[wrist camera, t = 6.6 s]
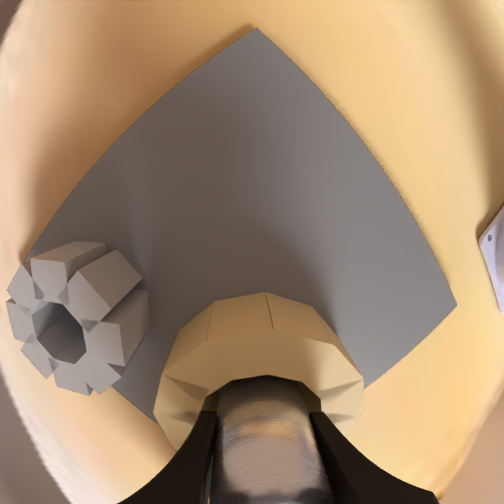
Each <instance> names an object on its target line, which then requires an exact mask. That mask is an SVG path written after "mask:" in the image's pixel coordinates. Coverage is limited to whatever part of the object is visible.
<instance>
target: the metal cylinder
mask: <svg viewBox="0 0 504 504" xmlns="http://www.w3.org/2000/svg"><path fill="white" fill-rule="evenodd" d="M209 504H334V496H333V493H332V489H331V486H330V483H329V479H328V476H327V473H326V470H325V466H324V463H323V460H322V457H321V453H320V450H319V447H318V444H317V440H316V437H315V434H314V431H313V427H312V424H311V421H310V418H309V415H308V411H307V408H306V405H305V402H304V399H303V395H302V392H301V389H300V386H299V383H298V381H296V380H292V379H287V378H282V377H278V376H273V375H269V374H266V375H261V376H255V377H249V378H243V379H236V380H231V381H230V382H228V383H227V384H225V385H224V386H222V387H220V388H219V396H218V406H217V419H216V430H215V440H214V451H213V463H212V475H211V488H210V501H209Z"/></svg>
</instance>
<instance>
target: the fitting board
mask: <svg viewBox="0 0 504 504" xmlns="http://www.w3.org/2000/svg"><path fill="white" fill-rule="evenodd" d="M7 291H8V293H9V294H10V295H11V297H12V298H11V299H10V300H8V301H6V305H7V310H8V315H9V319H10V323H11V328H12V331H13V335H14V339H17V340H20V341H24V342H25V344H24V346H23V347H22V349H21V351H22V353H23V354H24V355H25V356H26V357H27V358H28V360H29V361H30V362H31V363H32V364H33V365H34V366H35V367H36V369H37V370H38V371H39V372H40V373H41V374H42V375H43V376H44V377H45V378H46V379H47V378H48V377H49V376H50V375H51V374H52V373H53V375H54V378H55V381H56V384H57V386H58V387H61V388H64V389H67V390H71V391H74V392H77V393H81V394H85V395H88V396H90V394H91V392H92V391H93V389H94V390H95V391H96V392H97V393H98V394H99V395H100V394H101V393H102V392H103V391H105V390H106V389H107V388H108V387H110V386H112V387H113V388H114V389H115V390H117V391H118V392H119V393H120V394H121V395H122V396H123V397H125V398H126V399H127V400H128V401H129V402H131V403H132V404H133V405H134V406H136V407H137V408H138V409H139V410H140V411H142V412H143V413H144V414H146V415H147V416H148V417H149V418H151V419H152V420H153V421H155V422H156V423H157V424H159V425H160V427H161V429H162V430H163V432H164V434H165V436H166V437H167V439H168V441H169V443H170V444H171V446H172V447H173V448H175V449H176V450H179V449H180V447H181V446H182V445H183V443H184V442H185V440H186V438H187V437H188V435H189V434H190V432H191V430H192V428H193V426H194V425H195V423H196V420H197V418H198V416H199V413H200V411H202V410H209V411H217V406H218V396H219V388H220V387H222V386H224V385H225V384H227V383H228V382H230V381H231V380H236V379H243V378H249V377H255V376H261V375H266V374H269V375H273V376H278V377H282V378H287V379H292V380H296V381H298V383H299V386H300V389H301V392H302V395H303V399H304V402H305V405H306V408H307V411H308V415H309V414H310V412H324V413H325V414H326V415H327V416H328V418H329V419H330V420H331V421H332V423H333V424H334V425H335V426H336V427H337V428H338V430H339V431H340V432H341V433H342V434H343V435H344V436H345V437H347V436H348V435H349V433H350V432H351V431H352V429H353V428H354V427H355V425H356V424H357V423H358V421H359V420H360V418H361V417H362V411H363V390H364V389H365V388H366V387H368V386H369V385H370V384H372V383H373V382H374V381H375V380H377V379H378V378H379V377H381V376H382V375H383V374H384V373H386V372H387V371H388V370H389V369H390V368H392V367H393V366H394V365H395V364H396V363H398V362H399V361H400V360H401V359H402V358H404V357H405V356H406V355H407V354H408V353H409V352H410V351H412V350H413V349H414V348H415V347H416V346H417V345H418V344H419V343H420V342H421V341H422V340H424V339H425V338H426V337H427V336H428V335H429V334H430V333H431V332H432V331H433V330H434V329H435V328H436V327H437V326H438V325H439V324H440V323H441V322H442V321H443V320H444V319H445V318H446V317H447V316H448V315H449V314H450V313H451V312H452V311H453V310H454V309H455V307H456V306H457V303H456V301H455V298H454V296H453V294H452V291H451V289H450V287H449V285H448V283H447V280H446V278H445V276H444V274H443V272H442V270H441V268H440V266H439V264H438V262H437V260H436V258H435V256H434V254H433V252H432V250H431V248H430V246H429V244H428V243H427V241H426V239H425V237H424V235H423V233H422V232H421V230H420V228H419V226H418V225H417V223H416V221H415V219H414V218H413V216H412V214H411V213H410V211H409V209H408V208H407V206H406V204H405V203H404V201H403V199H402V198H401V196H400V195H399V193H398V192H397V190H396V188H395V187H394V185H393V184H392V182H391V181H390V179H389V178H388V176H387V175H386V173H385V172H384V170H383V169H382V168H381V166H380V165H379V163H378V162H377V160H376V159H375V158H374V156H373V155H372V154H371V152H370V151H369V149H368V148H367V147H366V145H365V144H364V143H363V141H362V140H361V139H360V137H359V136H358V135H357V134H356V132H355V131H354V130H353V128H352V127H351V126H350V125H349V123H348V122H347V121H346V120H345V119H344V117H343V116H342V115H341V114H340V112H339V111H338V110H337V109H336V108H335V107H334V105H333V104H332V103H331V102H330V101H329V100H328V98H327V97H326V96H325V95H324V94H323V93H322V92H321V91H320V89H319V88H318V87H317V86H316V85H315V84H314V83H313V82H312V81H311V80H310V79H309V78H308V77H307V75H306V74H305V73H304V72H303V71H302V70H301V69H300V68H299V67H298V66H297V65H296V64H295V63H294V62H293V61H292V60H291V59H290V58H289V57H288V56H287V55H286V54H285V53H284V52H283V51H282V50H280V49H279V48H278V47H277V46H276V45H275V44H274V43H273V42H272V41H271V40H270V39H269V38H267V37H266V36H265V35H264V34H263V33H262V32H261V31H260V30H258V29H257V28H256V29H255V30H253V31H251V32H250V33H248V34H246V35H245V36H243V37H242V38H240V39H239V40H237V41H236V42H234V43H232V44H231V45H229V46H228V47H227V48H225V49H224V50H222V51H221V52H219V53H218V54H216V55H215V56H214V57H212V58H211V59H209V60H208V61H207V62H205V63H204V64H203V65H201V66H200V67H199V68H197V69H196V70H195V71H193V72H192V73H191V74H190V75H188V76H187V77H186V78H185V79H183V80H182V81H181V82H180V83H178V84H177V85H176V86H175V87H174V88H172V89H171V90H170V91H169V92H168V93H166V94H165V95H164V96H163V97H162V98H161V99H160V100H158V101H157V102H156V103H155V104H154V105H153V106H152V107H151V108H150V109H148V110H147V111H146V112H145V113H144V114H143V115H142V116H141V117H140V118H139V119H138V120H137V121H136V122H135V123H134V124H133V125H132V126H131V127H130V128H129V129H128V130H127V131H126V132H125V133H124V134H123V135H122V136H121V137H120V138H119V139H118V140H117V141H116V142H115V143H114V144H113V145H112V146H111V147H110V148H109V149H108V150H107V151H106V153H105V154H104V155H103V156H102V157H101V158H100V159H99V160H98V161H97V163H96V164H95V165H94V166H93V167H92V168H91V169H90V171H89V172H88V173H87V174H86V175H85V177H84V178H83V179H82V180H81V181H80V183H79V184H78V185H77V186H76V188H75V189H74V190H73V191H72V193H71V194H70V195H69V197H68V198H67V199H66V200H65V202H64V203H63V204H62V206H61V207H60V208H59V210H58V211H57V213H56V214H55V215H54V217H53V218H52V219H51V221H50V222H49V224H48V225H47V227H46V228H45V230H44V231H43V233H42V234H41V236H40V237H39V239H38V240H37V242H36V243H35V245H34V246H33V248H32V249H31V251H30V253H29V254H28V256H27V258H26V259H25V261H24V262H23V263H21V265H20V267H19V268H18V270H17V272H16V274H15V276H14V277H13V279H12V281H11V283H10V285H9V287H8V289H7Z"/></svg>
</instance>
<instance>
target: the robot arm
mask: <svg viewBox="0 0 504 504" xmlns="http://www.w3.org/2000/svg"><path fill="white" fill-rule="evenodd" d="M479 247H480V250H481V252H482V255H483V258H484V261H485V263H486V266H487V269H488V272H489V275H490V278H491V282H492V285H493V288H494V292H495V295H496V299H497V302H498V306H499V310H500V313H502V314H504V206H503V207H502V209H501V210H500V211H499V213H498V214H497V216H496V217H495V218H494V220H493V221H492V222H491V224H490V225H489V226H488V227H487V229H486V230H485V231H484V233H483V234H482V235H481V236H480V238H479ZM309 418H310V421H311V424H312V427H313V431H314V434H315V437H316V440H317V444H318V447H319V450H320V453H321V457H322V460H323V463H324V466H325V470H326V473H327V476H328V479H329V483H330V486H331V489H332V493H333V496H334V504H439V502H438V500H437V498H436V497H435V495H434V493H433V492H431V491H428V490H425V489H422V488H419V487H416V486H413V485H411V484H408V483H406V482H404V481H402V480H400V479H398V478H396V477H394V476H392V475H391V474H389V473H387V472H386V471H384V470H382V469H381V468H379V467H378V466H377V465H375V464H374V463H373V462H371V461H370V460H369V459H367V458H366V457H365V456H364V455H363V454H362V453H361V452H359V451H358V450H357V449H356V448H355V447H354V446H353V445H352V444H351V443H350V442H349V441H348V440H347V439H346V437H345V436H344V435H343V434H342V433H341V432H340V431H339V430H338V428H337V427H336V426H335V425H334V424H333V423H332V421H331V420H330V419H329V418H328V416H327V415H326V414H325V413H324V412H310V414H309ZM216 419H217V411H209V410H202V411H200V413H199V416H198V418H197V420H196V423H195V425H194V426H193V428H192V430H191V432H190V434H189V435H188V437H187V438H186V440H185V442H184V443H183V445H182V446H181V447H180V449H179V450H178V451H177V453H176V454H175V455H174V457H173V458H172V459H171V460H170V462H169V463H168V464H167V465H166V466H165V467H164V468H163V469H162V470H161V471H160V472H159V473H158V474H157V475H156V476H155V477H154V478H153V479H152V480H151V481H150V482H148V483H147V484H146V485H145V486H143V487H142V488H141V489H139V490H138V491H137V492H135V493H134V494H133V495H131V496H130V497H128V498H126V499H125V500H123V501H121V502H119V503H118V504H208V498H209V492H210V487H211V475H212V463H213V451H214V440H215V430H216Z"/></svg>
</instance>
